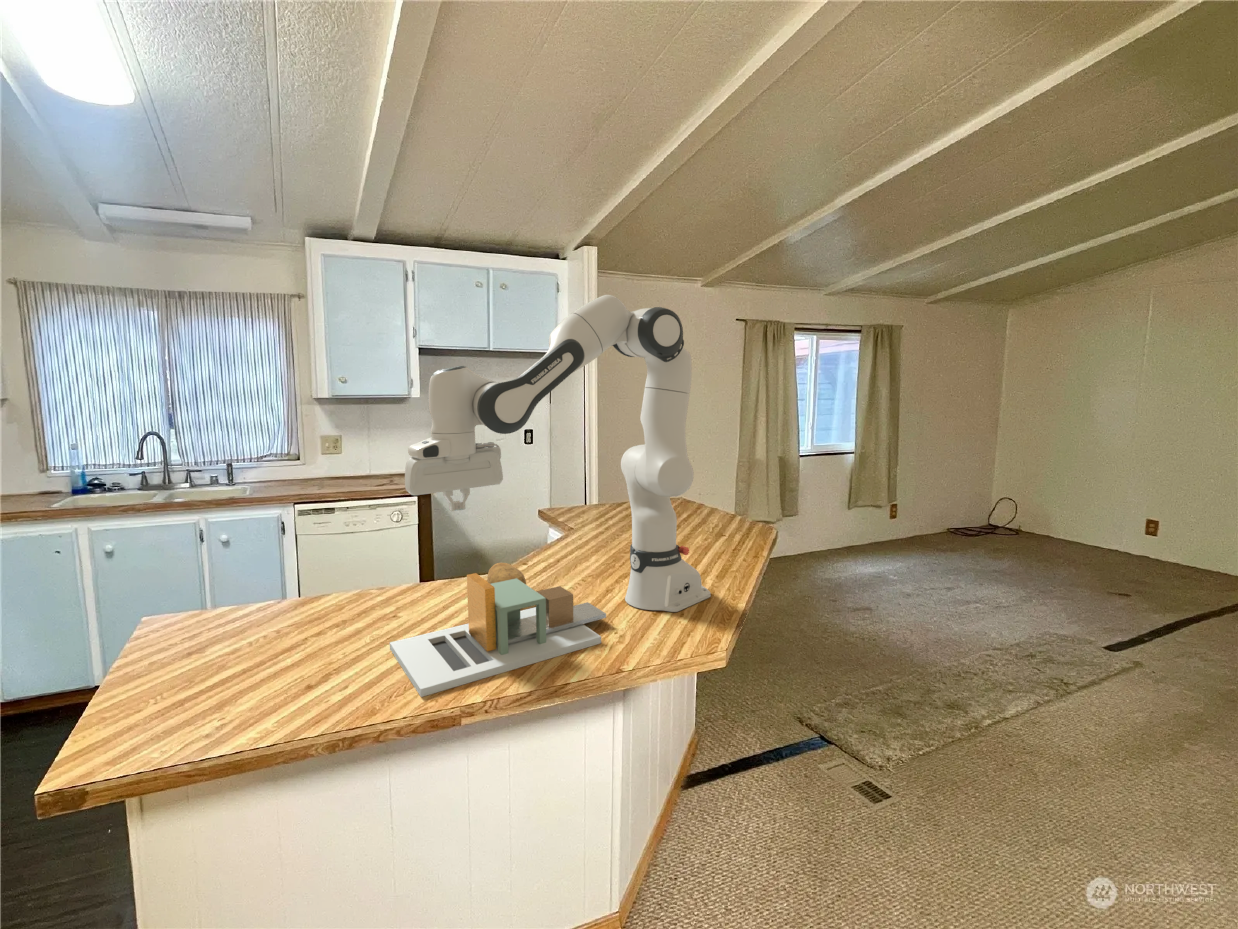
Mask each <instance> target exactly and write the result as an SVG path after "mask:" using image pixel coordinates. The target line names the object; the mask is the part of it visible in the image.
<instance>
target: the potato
mask: <svg viewBox="0 0 1238 929" xmlns="http://www.w3.org/2000/svg"><path fill="white" fill-rule="evenodd" d="M516 578H517V579H518V580H520V581H521V582H523V583H524V584H526V585H527V581H526V578H525V575H524V574H523V572H522V571H521V570H520V569H518V568H517V567H515V566H514V565H512V564H510V563H507V562H498V563H495V564H493V565H492V566H491V567H490V568H489V569H488V573H487V580H486V581H487V582H488V583H490V584H492V583H497V582H502V581H506V580H511V579H516Z"/></svg>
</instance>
